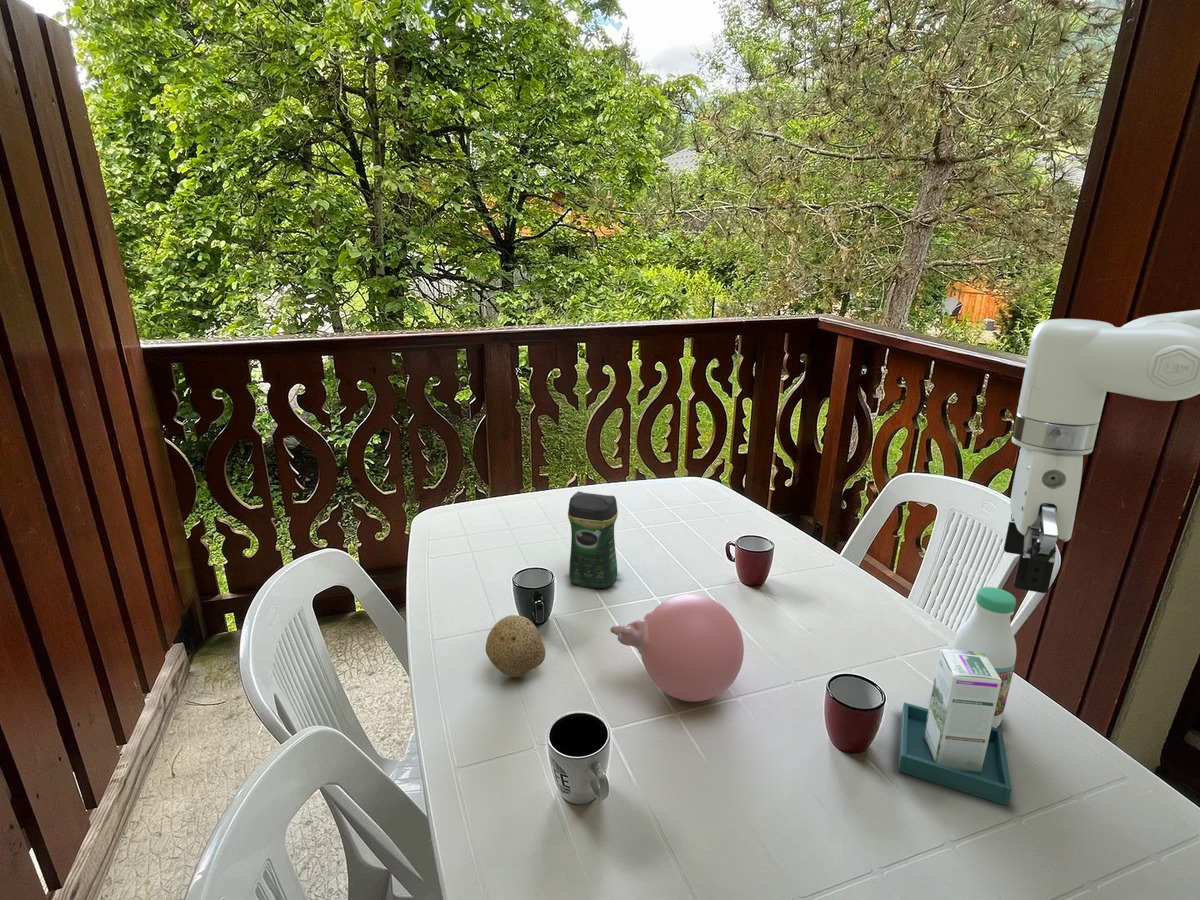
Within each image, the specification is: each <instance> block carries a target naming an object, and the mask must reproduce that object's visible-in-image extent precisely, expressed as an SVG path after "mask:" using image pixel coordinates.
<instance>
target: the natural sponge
mask: <svg viewBox="0 0 1200 900" xmlns="http://www.w3.org/2000/svg"><path fill="white" fill-rule="evenodd" d="M485 653H486V656H487V658H488V659H489V661H490V662H491V663H492V664H493V666H494V667H495V668H496V669H497V670H498V671H500V673H502V674H503V675H505V676H506V677H510V678H519V677H522V676H523V675H525V674H526V673H527V672H530V671H531V670H534V669H537V668H538V667H539V666H541V665H542V664H543V662H544V661H545V659H546V647H545V644H544V641H543V639H542V637H541V635H540V633H539V631H538V629H537V626H536V625H535V624H534V622H533V621H532V620H530V619H529V618H527V617H525V616H522V615H515V614H513V615H512V614H510V615H507V616H504V617H502V618H501V619H500V620H499V621H497V622H496V623H495V624H494V625H493V627H492V628H491V629H490V630H489V633H488V635H487V637H486V642H485Z"/></svg>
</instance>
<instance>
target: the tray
mask: <svg viewBox="0 0 1200 900" xmlns="http://www.w3.org/2000/svg"><path fill="white" fill-rule="evenodd" d="M928 710H929V708H926V707H922V706H918V705H916V704H913V703H912V704H911V703H908V702H903V706H902V711H901V716H900V733H899V752H898V753H899V754H898V772H899V773H903V774H906V775H908V776H913V777H914V778H915V777H916V778H918V779H922V780H925V781H929V782H931V783H934V784H938V785H940V786H943V787H947V788H950V789H952V790H956V791H959V792H962V793H966V794H968V795H972V796H975V797H977V798H981V799H984V800H987V801H990V802H993V803H996V804H999V805H1003V806H1006V807H1007V806H1008V804H1009V800H1010V797H1011V792H1012V785H1011V779H1010V773H1009V772H1010V771H1009V768H1008V767H1009V766H1008V761H1007V753H1006V748H1005V747H1006V746H1005V741H1004V734H1003V730H1002V729H1001V728H998V727H997V728H994V727H991V732H990V736H989V741H988V745H987V749H986V754H985V758H984V762H983V767H982V771H981V773H979V772H971V771H962V770H957V769H953V768H950V767H947V766H944V765H940V764H937V763H935V762H934V760H933V757H932V755H931V753H930V750H929V748H928V746H927V743H926V741H925V739H924V732H925V727H926V721H927V716H928Z"/></svg>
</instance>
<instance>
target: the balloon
mask: <svg viewBox="0 0 1200 900" xmlns="http://www.w3.org/2000/svg"><path fill="white" fill-rule="evenodd" d="M610 633H611V634H614V635H615V636H617V641H618V642H619V643H620V644H621V645H623V646H627V647H628V646H629V647H633V648H635V649H636V650H637V651H638V653H639V655H640V658H641V661H642V664H643V667H644V669H645V672H646V673H647V675H648V676H649V678H650V679H651V681H652V682H653V683H654V684H655V686H657V688H658V689H660V690H661V691H662V692H664V693H665V694H667V695H668V696H670V697H672V698H674V699H678V700H680V701H685V702H694V703H695V702H704V701H708V700H711V699H713V698H716V697H718V696H719V695H722V694H723V693H724V692H725V691H727V690H728V689H729V688H730V687H731V686H732V684H733V683H734V682H735V680H736V679H737V677H738V675H739V674H740V671H741V668H742V666H743V662H744V654H745V653H744V652H745V648H744V646H745V645H744V640H743V633H742V631H741V629H740V626H739V624H738V622H737V621H736V619H735V617H734V616H733V614H732V613H730V611H729V610H728V609H727V608H726V607H724V606H723V605H722V604H721V603H719V602H718V601H717V600H714V599H713V598H710V597H708V596H705V595H701V594H693V593H685V594H679V595H675V596H672V597H670V598H668V599H666V600H664V601H662V602H661V603H660V604H658V605H657V606H656V607H655V608H654V609H653V610H651V611H650V612H647V613H646V614H645V616H644V617H643V619H637V620H634V621H632V622H629V623H628V624H622V625H612V626H611V627H610Z"/></svg>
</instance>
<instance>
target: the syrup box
mask: <svg viewBox="0 0 1200 900" xmlns="http://www.w3.org/2000/svg"><path fill="white" fill-rule="evenodd" d="M1001 682H1002V680H1001V679H1000V677H999V676H998V674H997V673H996V671H995V669H994V668H993V666H992V665H991V663H990V662H989V660H988V659H987V657H986V656H985V654H984V653H980V652H973V651H966V650H952V648H951V649H946V648H945V649H943V648H940V649H939V653H938V658H937V663H936V669H935V674H934V678H933V685H932V690H931V695H930V700H929V701H930V702H929V706H928V709H929V710H928V716H927V721H926V727H925V732H924V739H925V741H926V743H927V746H928V748H929V750H930V753H931V755H932V757H933V760H934V762H935V763H937V764H940V765H944V766H947V767H950V768H953V769H957V770H962V771H971V772H979V773H981V771H982V767H983V762H984V758H985V754H986V749H987V745H988V741H989V736H990V732H991V727H992V723H993V718H994V713H995V709H996V704H997V700H998V695H999V691H1000V686H1001Z"/></svg>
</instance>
